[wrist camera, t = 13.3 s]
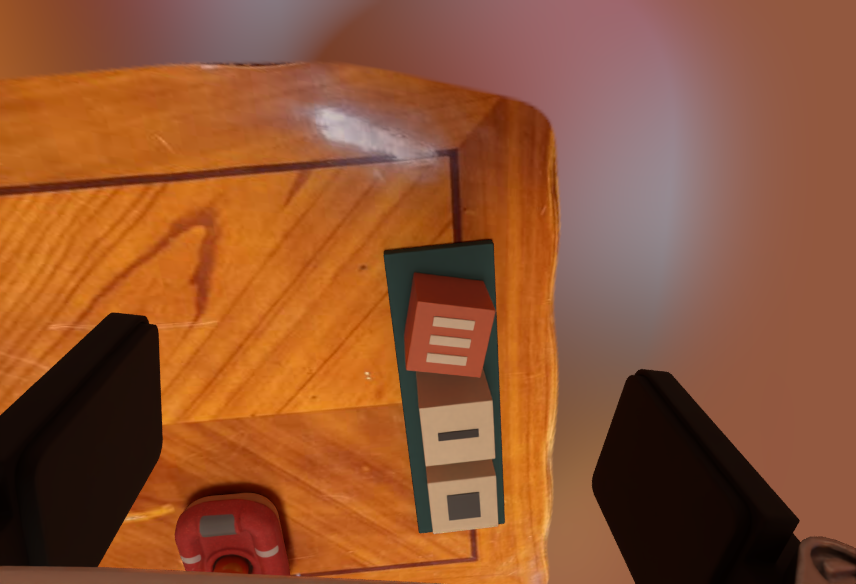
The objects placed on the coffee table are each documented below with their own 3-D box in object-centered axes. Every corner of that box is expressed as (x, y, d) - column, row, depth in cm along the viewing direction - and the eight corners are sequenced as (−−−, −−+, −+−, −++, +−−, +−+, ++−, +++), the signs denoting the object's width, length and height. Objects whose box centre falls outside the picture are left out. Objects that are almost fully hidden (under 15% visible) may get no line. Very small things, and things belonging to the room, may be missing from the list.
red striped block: (413, 271, 35) (417, 301, 31) (483, 280, 36) (496, 311, 31) (403, 335, 37) (405, 371, 33) (470, 342, 37) (480, 379, 33)
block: (423, 439, 40) (427, 484, 36) (485, 432, 41) (496, 476, 36) (428, 487, 42) (433, 535, 38) (487, 480, 42) (498, 527, 38)
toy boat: (211, 592, 46) (179, 687, 39) (177, 486, 42) (135, 573, 35) (301, 583, 47) (285, 676, 40) (277, 477, 42) (255, 561, 35)
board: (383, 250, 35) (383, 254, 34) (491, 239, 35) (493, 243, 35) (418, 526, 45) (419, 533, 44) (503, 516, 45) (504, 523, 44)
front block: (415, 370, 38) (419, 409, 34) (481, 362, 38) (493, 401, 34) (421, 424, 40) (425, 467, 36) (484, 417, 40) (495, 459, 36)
